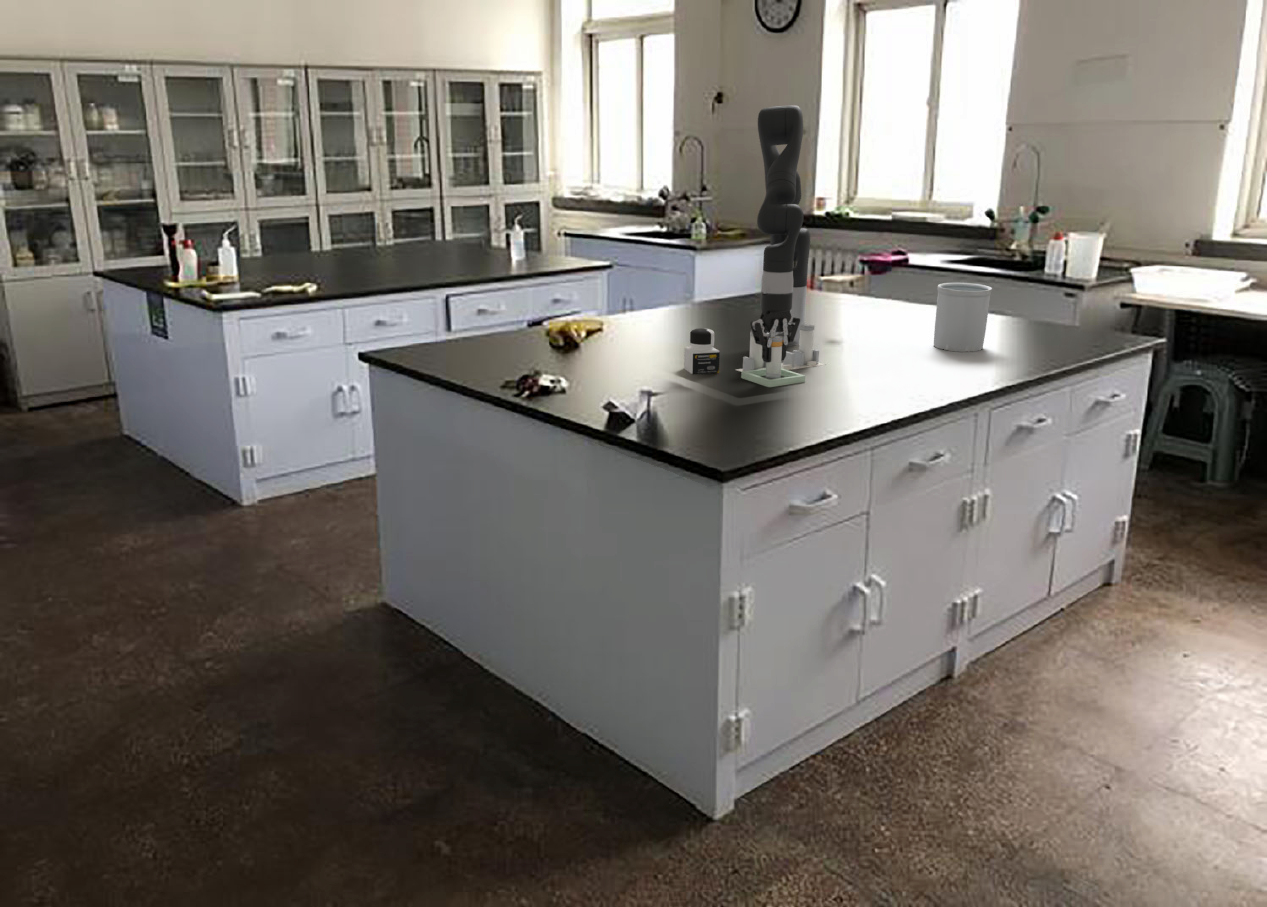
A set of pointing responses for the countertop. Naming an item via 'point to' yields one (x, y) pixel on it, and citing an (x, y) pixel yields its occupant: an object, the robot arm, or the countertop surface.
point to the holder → (786, 361)
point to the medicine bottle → (701, 353)
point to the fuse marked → (775, 358)
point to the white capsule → (806, 342)
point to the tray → (789, 379)
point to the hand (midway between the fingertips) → (773, 360)
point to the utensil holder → (961, 316)
